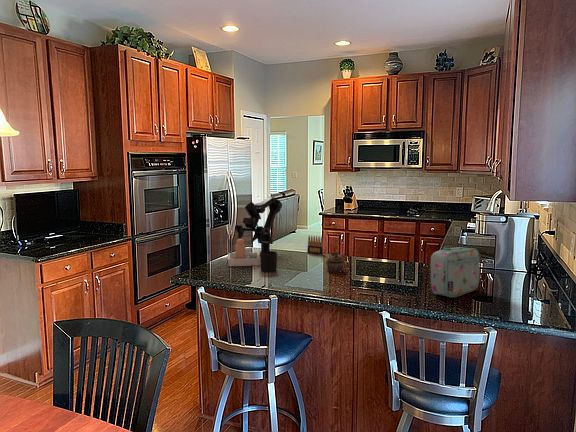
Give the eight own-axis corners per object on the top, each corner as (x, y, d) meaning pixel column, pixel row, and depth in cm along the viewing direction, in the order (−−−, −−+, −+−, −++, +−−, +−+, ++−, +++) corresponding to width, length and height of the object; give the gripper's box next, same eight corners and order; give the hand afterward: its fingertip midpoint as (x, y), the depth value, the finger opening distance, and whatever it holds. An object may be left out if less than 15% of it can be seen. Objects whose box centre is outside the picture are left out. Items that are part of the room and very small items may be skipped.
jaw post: (238, 260, 261) (238, 238, 259) (245, 260, 259) (245, 239, 258) (235, 261, 257) (234, 239, 255) (241, 262, 255) (241, 240, 254)
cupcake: (346, 272, 236) (347, 253, 235) (331, 273, 233) (331, 255, 232) (338, 268, 245) (338, 250, 244) (323, 269, 242) (323, 251, 240)
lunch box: (447, 301, 185) (449, 252, 183) (426, 295, 193) (428, 248, 191) (481, 290, 201) (484, 245, 198) (461, 286, 209) (463, 241, 207)
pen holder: (276, 272, 235) (276, 254, 233) (259, 272, 235) (259, 254, 234) (277, 268, 244) (277, 251, 243) (260, 268, 244) (260, 250, 243)
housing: (228, 259, 267) (228, 253, 267) (258, 258, 269) (258, 252, 269) (228, 266, 249) (228, 259, 249) (259, 265, 252) (259, 258, 251)
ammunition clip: (323, 254, 283) (323, 236, 282) (322, 254, 282) (322, 236, 280) (308, 252, 288) (308, 234, 287) (307, 253, 287) (307, 235, 285)
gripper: (235, 211, 269) (226, 232, 260) (263, 213, 262) (254, 234, 253) (242, 222, 277) (233, 242, 269) (268, 224, 270) (261, 245, 261)
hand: (245, 241), depth 263 cm, fingers open, 9 cm apart
